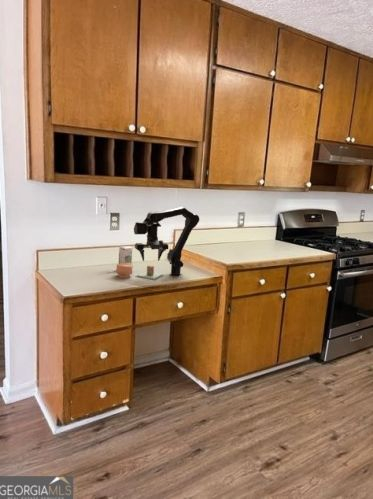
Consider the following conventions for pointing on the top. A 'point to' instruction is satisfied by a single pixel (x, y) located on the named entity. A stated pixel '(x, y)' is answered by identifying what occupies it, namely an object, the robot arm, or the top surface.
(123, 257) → the syrup box
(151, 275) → the lid
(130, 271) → the bowl
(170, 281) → the top surface
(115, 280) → the top surface
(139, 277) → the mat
